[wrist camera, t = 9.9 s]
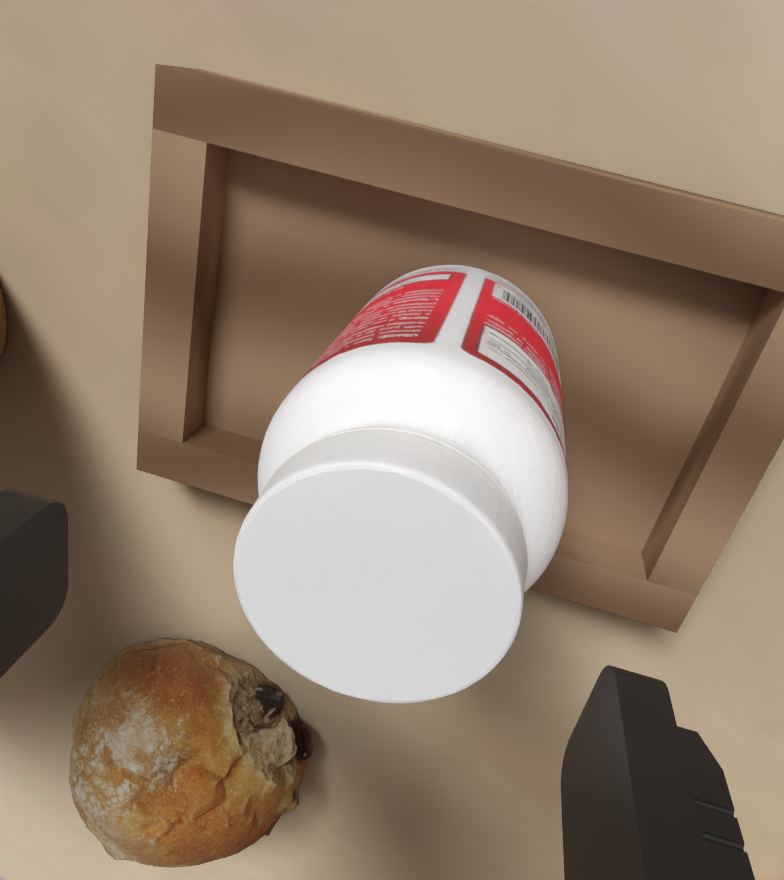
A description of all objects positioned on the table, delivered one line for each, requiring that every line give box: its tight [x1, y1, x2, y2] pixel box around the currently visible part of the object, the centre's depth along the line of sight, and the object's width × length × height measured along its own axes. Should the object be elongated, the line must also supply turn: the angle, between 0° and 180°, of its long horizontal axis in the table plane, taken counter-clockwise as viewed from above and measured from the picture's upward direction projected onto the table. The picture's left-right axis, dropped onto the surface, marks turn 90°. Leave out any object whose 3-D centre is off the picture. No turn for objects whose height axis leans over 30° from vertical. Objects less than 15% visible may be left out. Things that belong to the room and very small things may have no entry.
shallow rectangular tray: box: [137, 64, 784, 633], centre depth 20 cm, size 12×18×2 cm, turn 77°
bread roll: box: [70, 638, 313, 867], centre depth 29 cm, size 10×10×8 cm
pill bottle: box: [233, 265, 568, 703], centre depth 16 cm, size 6×6×11 cm
